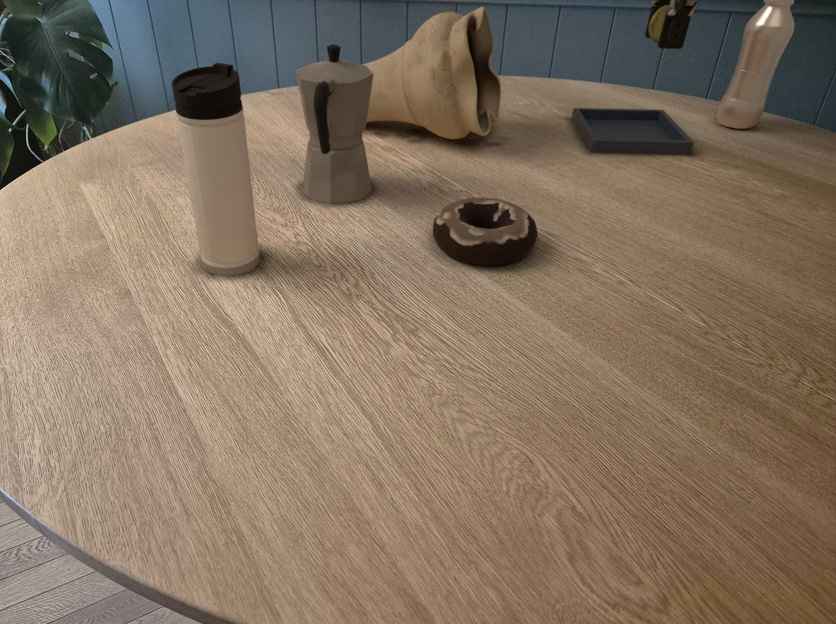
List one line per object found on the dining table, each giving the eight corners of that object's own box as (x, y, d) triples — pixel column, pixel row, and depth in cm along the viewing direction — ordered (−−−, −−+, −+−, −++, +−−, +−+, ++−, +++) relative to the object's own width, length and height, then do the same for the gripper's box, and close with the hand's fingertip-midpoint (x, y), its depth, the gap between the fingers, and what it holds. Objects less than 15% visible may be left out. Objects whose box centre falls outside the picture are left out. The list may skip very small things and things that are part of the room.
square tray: (659, 122, 109) (663, 109, 108) (689, 156, 97) (694, 142, 96) (570, 120, 109) (573, 107, 108) (590, 154, 98) (593, 140, 97)
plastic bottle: (706, 119, 110) (749, -16, 98) (747, 120, 110) (796, -15, 98) (720, 133, 105) (768, -8, 93) (763, 134, 105) (817, -7, 93)
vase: (272, 52, 92) (466, 14, 81) (324, -4, 106) (496, -43, 95) (322, 186, 107) (493, 170, 95) (363, 121, 120) (516, 100, 109)
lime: (649, 39, 93) (658, 0, 90) (684, 44, 91) (695, 4, 88) (639, 46, 90) (649, 5, 87) (676, 51, 88) (687, 10, 85)
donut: (532, 278, 70) (538, 245, 68) (423, 264, 72) (425, 232, 70) (536, 228, 79) (542, 197, 77) (439, 217, 81) (441, 187, 79)
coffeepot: (313, 168, 93) (306, 29, 82) (379, 172, 92) (381, 33, 81) (286, 217, 81) (273, 63, 70) (361, 223, 80) (361, 67, 69)
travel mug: (272, 254, 74) (254, 67, 62) (239, 282, 69) (212, 86, 57) (225, 242, 76) (199, 59, 64) (190, 269, 71) (154, 76, 59)
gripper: (767, -116, 73) (713, 59, 84) (709, -123, 86) (670, 28, 97) (698, -116, 73) (654, 59, 84) (651, -124, 86) (618, 28, 97)
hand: (663, 41), depth 90 cm, fingers closed on lime, 5 cm apart
